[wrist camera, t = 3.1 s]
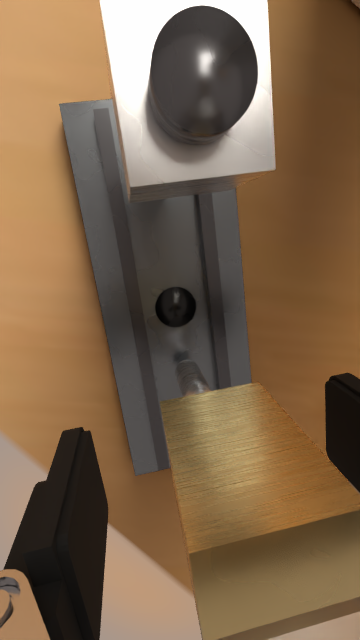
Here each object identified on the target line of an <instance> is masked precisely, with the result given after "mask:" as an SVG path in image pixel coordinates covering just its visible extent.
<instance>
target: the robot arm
mask: <svg viewBox="0 0 360 640" xmlns="http://www.w3.org/2000/svg"><path fill="white" fill-rule="evenodd" d="M351 1H352V2H353V3H354V4H355V5H356V6H357V7H358V8H359V9H360V0H351ZM325 406H326V452H327V455H328V457H329V459H330V461H331V462H332V463H333V464H334V465H335V466H336V467H337V468H338V470H339V471H340V472H341V473H342V474H343V475H344V476H345V477H346V478H347V479H348V481H349V482H350V483H351V484H352V485H353V486H354V487H355V488H356V489H357V490H358V492H359V493H360V379H358V378H357V377H355V376H354V375H352V374H350V373H344V374H339V375H334V376H331V377H330V379H329V381H327V382H326V384H325ZM107 524H108V503H107V498H106V494H105V490H104V486H103V481H102V477H101V473H100V469H99V465H98V460H97V456H96V452H95V448H94V444H93V440H92V435H91V432H90V431H84V429H83V428H82V427H80V428H75V429H70V430H65V431H63V432H62V435H61V438H60V441H59V444H58V447H57V450H56V453H55V456H54V459H53V462H52V465H51V468H50V471H49V474H48V477H47V480H46V481H42V482H38V483H37V484H36V485H35V487H34V489H33V492H32V494H31V497H30V500H29V502H28V505H27V508H26V511H25V513H24V516H23V519H22V521H21V524H20V527H19V530H18V532H17V535H16V537H15V540H14V543H13V545H12V548H11V551H10V554H9V556H8V559H7V562H6V564H5V567H4V570H2V571H0V640H99V638H100V624H101V610H102V595H103V580H104V567H105V553H106V538H107ZM216 640H360V597H357V598H354V599H351V600H347V601H344V602H340V603H337V604H333V605H330V606H327V607H323V608H320V609H317V610H313V611H310V612H306V613H303V614H300V615H296V616H293V617H289V618H286V619H283V620H279V621H276V622H273V623H269V624H266V625H263V626H259V627H256V628H253V629H249V630H246V631H243V632H239V633H236V634H233V635H229V636H226V637H223V638H219V639H216Z"/></svg>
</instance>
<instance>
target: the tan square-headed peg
mask: <svg viewBox="0 0 360 640" xmlns="http://www.w3.org/2000/svg"><path fill="white" fill-rule="evenodd" d="M175 376H176V379H177V382H178V385H179V388H180V391H181V394H182V397H179V398H174V399H169V400H164V401H160V407H161V413H162V419H163V425H164V430H165V436H166V442H167V448H168V454H169V460H170V466H171V472H172V478H173V484H174V490H175V495H176V500H177V506H178V511H179V517H180V522H181V527H182V533H183V538H184V544H185V549H186V554H187V560H188V565H189V571H190V576H191V581H192V587H193V592H194V598H195V603H196V608H197V614H198V619H199V625H200V630H201V635H202V640H216V639H219V638H223V637H226V636H229V635H233V634H236V633H239V632H243V631H246V630H249V629H253V628H256V627H259V626H263V625H266V624H269V623H273V622H276V621H279V620H283V619H286V618H289V617H293V616H296V615H300V614H303V613H306V612H310V611H313V610H317V609H320V608H323V607H327V606H330V605H333V604H337V603H340V602H344V601H347V600H351V599H354V598H357V597H360V495H359V493H358V492H357V491H356V490H355V489H354V488H353V487H352V486H351V485H350V483H349V482H348V481H347V480H346V479H345V478H344V477H343V476H342V474H341V473H340V472H339V471H338V470H337V469H336V468H335V467H334V466H333V464H332V463H331V462H330V461H329V460H328V459H327V458H326V457H325V456H324V454H323V453H322V452H321V451H320V450H319V449H318V448H317V447H316V446H315V444H314V443H313V442H312V441H311V440H310V439H309V438H308V437H307V436H306V434H305V433H304V432H303V431H302V430H301V429H300V428H299V427H298V426H297V424H296V423H295V422H294V421H293V420H292V419H291V418H290V417H289V415H288V414H287V413H286V412H285V411H284V410H283V409H282V408H281V407H280V405H279V404H278V403H277V402H276V401H275V400H274V399H273V398H272V397H271V395H270V394H269V393H268V392H267V391H266V390H265V389H264V388H263V387H262V385H261V384H260V383H259V382H254V383H249V384H244V385H239V386H234V387H229V388H224V389H219V390H214V391H212V390H211V389H210V387H209V385H208V383H207V381H206V379H205V378H204V376H203V374H202V372H201V370H200V368H199V366H198V365H197V364H196V363H195V362H194V361H192V360H183V361H181V362H180V363H179V364H178V365H177V366H176V369H175Z"/></svg>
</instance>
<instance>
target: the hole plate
mask: <svg viewBox="0 0 360 640" xmlns="http://www.w3.org/2000/svg"><path fill="white" fill-rule="evenodd" d="M100 7H101V16H102V24H103V33H104V41H105V50H106V58H107V66H108V75H109V83H110V90H111V96H112V99H108V100H96V101H85V102H74V103H63V104H59V106H60V111H61V116H62V121H63V126H64V130H65V135H66V140H67V145H68V150H69V155H70V160H71V165H72V169H73V174H74V179H75V184H76V189H77V194H78V199H79V204H80V208H81V213H82V218H83V223H84V228H85V233H86V238H87V242H88V247H89V252H90V257H91V262H92V267H93V272H94V277H95V281H96V286H97V291H98V296H99V301H100V306H101V311H102V316H103V320H104V325H105V330H106V335H107V340H108V345H109V350H110V354H111V359H112V364H113V369H114V374H115V379H116V384H117V389H118V393H119V398H120V403H121V408H122V413H123V418H124V423H125V428H126V432H127V437H128V442H129V447H130V452H131V457H132V462H133V466H134V471H135V476H137V475H141V474H146V473H150V472H154V471H159V470H163V469H168V468H171V466H170V460H169V454H168V448H167V442H166V436H165V430H164V425H163V419H162V413H161V407H160V401H164V400H169V399H174V398H179V397H182V394H181V391H180V388H179V385H178V382H177V379H176V376H175V369H176V366H177V365H178V364H179V363H180V362H181V361H183V360H192V361H194V362H195V363H196V364H197V365H198V366H199V368H200V370H201V372H202V374H203V376H204V378H205V379H206V381H207V383H208V385H209V387H210V389H211V390H212V391H214V390H219V389H224V388H229V387H234V386H239V385H244V384H249V383H251V370H250V358H249V346H248V333H247V321H246V308H245V296H244V284H243V271H242V259H241V246H240V234H239V222H238V209H237V197H236V187H238V186H240V185H243V184H245V183H247V182H249V181H252V180H254V179H256V178H258V177H260V176H263V175H265V174H267V173H269V172H272V171H274V170H276V166H275V146H274V125H273V105H272V84H271V64H270V43H269V23H268V2H267V0H100Z"/></svg>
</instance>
